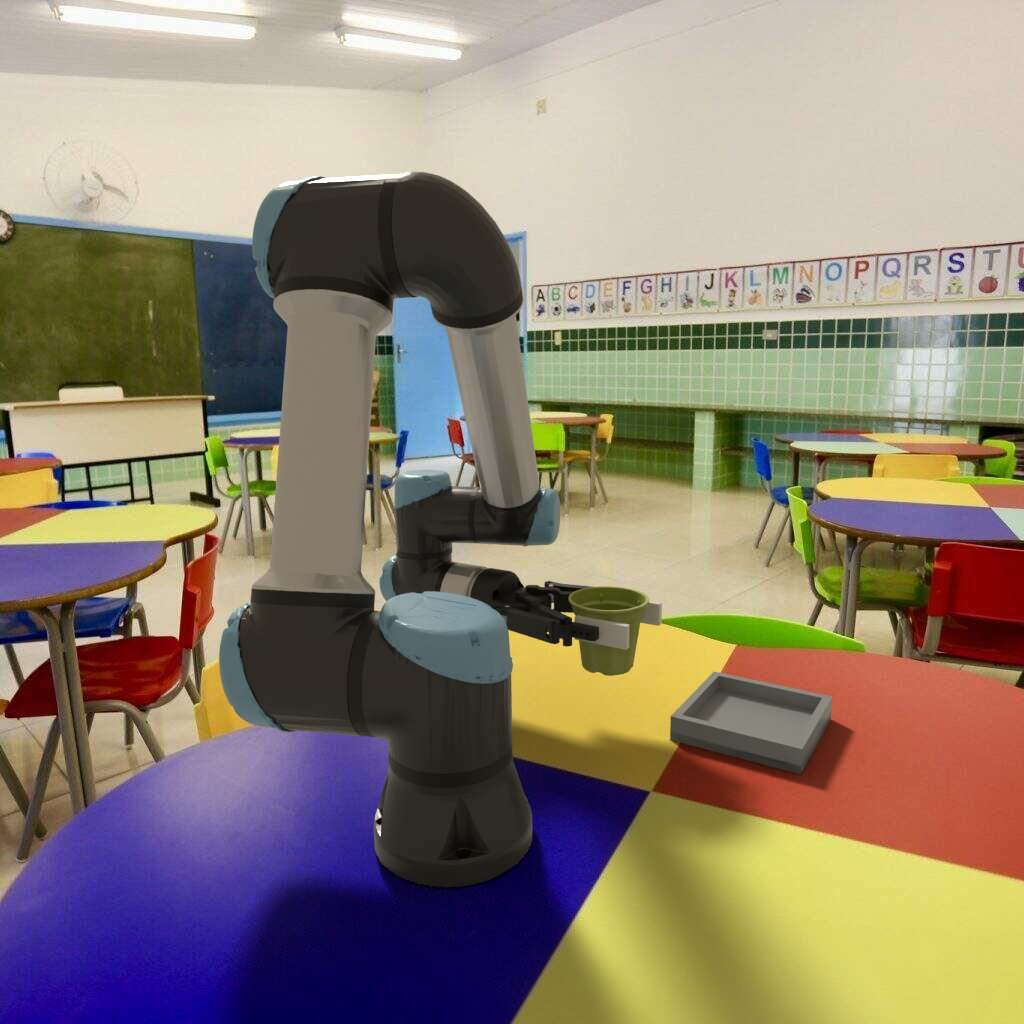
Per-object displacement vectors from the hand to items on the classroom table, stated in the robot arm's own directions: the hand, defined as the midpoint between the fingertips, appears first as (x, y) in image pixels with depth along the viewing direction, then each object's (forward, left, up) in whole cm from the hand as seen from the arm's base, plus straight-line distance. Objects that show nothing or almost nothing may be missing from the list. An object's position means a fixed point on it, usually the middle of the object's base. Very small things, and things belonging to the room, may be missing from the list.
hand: (644, 625), depth 93 cm
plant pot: (0, +5, -6) cm, 8 cm away
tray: (+9, -10, -14) cm, 20 cm away
